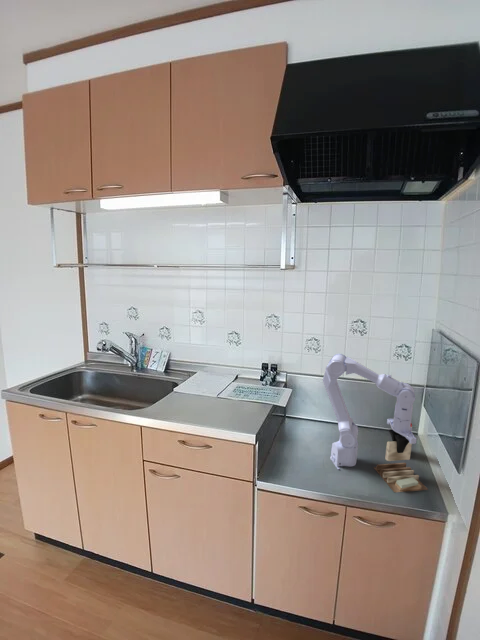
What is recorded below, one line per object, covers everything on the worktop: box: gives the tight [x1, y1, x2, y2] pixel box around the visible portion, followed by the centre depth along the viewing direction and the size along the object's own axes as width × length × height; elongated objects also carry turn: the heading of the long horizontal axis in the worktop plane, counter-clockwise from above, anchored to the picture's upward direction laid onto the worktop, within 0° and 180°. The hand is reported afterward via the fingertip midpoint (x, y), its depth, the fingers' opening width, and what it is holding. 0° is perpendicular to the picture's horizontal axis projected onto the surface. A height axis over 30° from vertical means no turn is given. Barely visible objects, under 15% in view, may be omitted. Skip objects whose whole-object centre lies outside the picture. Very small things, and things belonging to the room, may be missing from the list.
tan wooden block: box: [384, 441, 413, 462], centre depth 124 cm, size 9×2×7 cm, turn 98°
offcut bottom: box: [395, 482, 421, 491], centre depth 118 cm, size 8×3×1 cm, turn 98°
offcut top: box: [396, 477, 418, 488], centre depth 118 cm, size 7×3×1 cm, turn 106°
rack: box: [373, 462, 429, 493], centre depth 123 cm, size 13×14×3 cm
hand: (398, 450), depth 124 cm, fingers closed on tan wooden block, 2 cm apart
